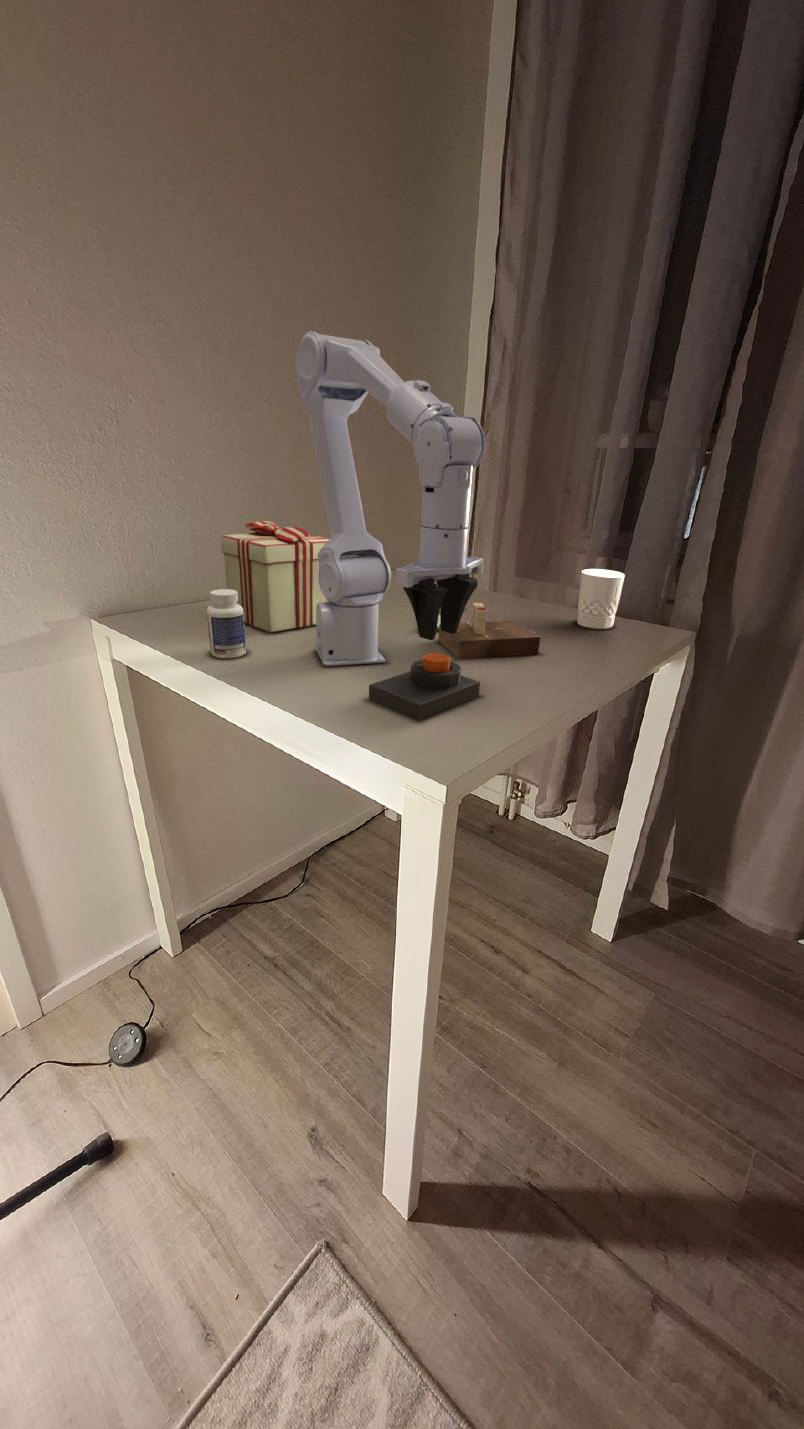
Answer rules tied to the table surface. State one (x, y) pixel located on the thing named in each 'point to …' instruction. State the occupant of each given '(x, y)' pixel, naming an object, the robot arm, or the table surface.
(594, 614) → the white cup
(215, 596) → the pill bottle
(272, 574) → the gift box
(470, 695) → the button base
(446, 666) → the power button
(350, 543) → the robot arm
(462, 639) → the dial panel
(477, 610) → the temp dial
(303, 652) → the table surface
